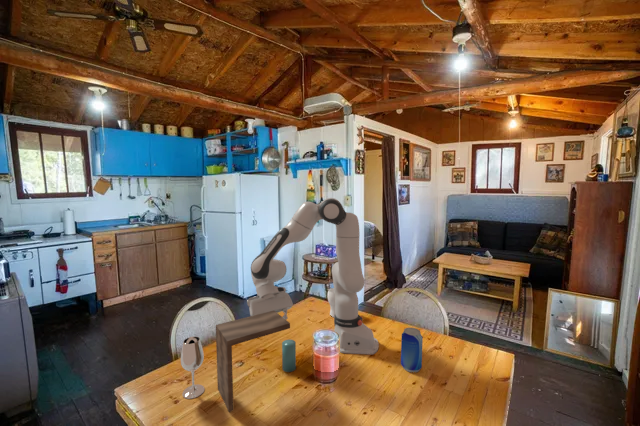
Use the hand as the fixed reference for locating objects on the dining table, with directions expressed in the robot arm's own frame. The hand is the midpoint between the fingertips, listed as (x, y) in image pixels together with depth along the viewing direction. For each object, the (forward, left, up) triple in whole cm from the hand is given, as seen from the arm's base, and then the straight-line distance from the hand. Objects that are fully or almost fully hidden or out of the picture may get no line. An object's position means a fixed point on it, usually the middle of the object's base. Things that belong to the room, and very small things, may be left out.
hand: (276, 321), depth 133 cm
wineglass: (+19, +31, -16) cm, 40 cm away
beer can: (-59, -7, -16) cm, 61 cm away
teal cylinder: (-9, +8, -16) cm, 20 cm away
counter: (-1, +23, -16) cm, 28 cm away
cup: (-17, -49, -16) cm, 54 cm away
